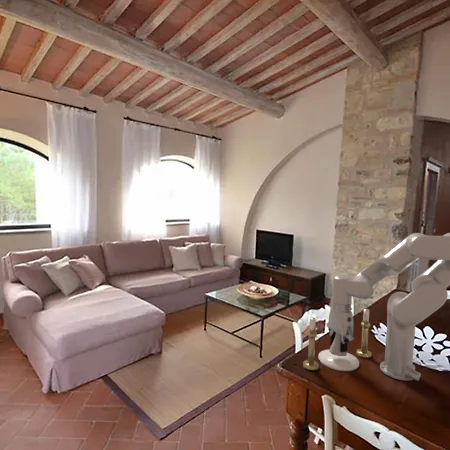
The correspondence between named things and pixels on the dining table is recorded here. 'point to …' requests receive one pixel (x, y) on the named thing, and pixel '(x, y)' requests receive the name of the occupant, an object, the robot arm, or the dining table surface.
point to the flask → (337, 346)
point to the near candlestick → (311, 347)
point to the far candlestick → (364, 336)
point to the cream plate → (338, 361)
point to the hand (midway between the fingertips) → (338, 347)
